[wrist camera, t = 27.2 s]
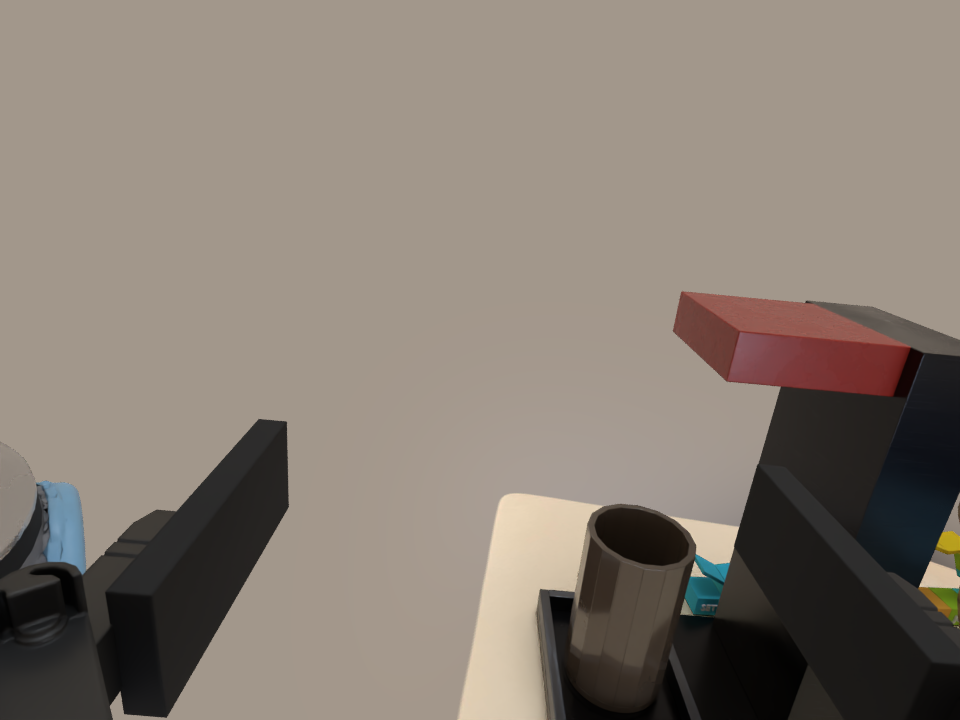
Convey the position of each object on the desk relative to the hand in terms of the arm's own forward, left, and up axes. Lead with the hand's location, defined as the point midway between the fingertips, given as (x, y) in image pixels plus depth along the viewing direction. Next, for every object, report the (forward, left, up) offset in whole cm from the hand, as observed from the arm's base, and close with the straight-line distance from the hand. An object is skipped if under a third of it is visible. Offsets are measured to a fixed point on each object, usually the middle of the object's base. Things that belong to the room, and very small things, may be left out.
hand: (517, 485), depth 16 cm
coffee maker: (+4, +27, -30) cm, 40 cm away
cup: (0, +24, -29) cm, 38 cm away
